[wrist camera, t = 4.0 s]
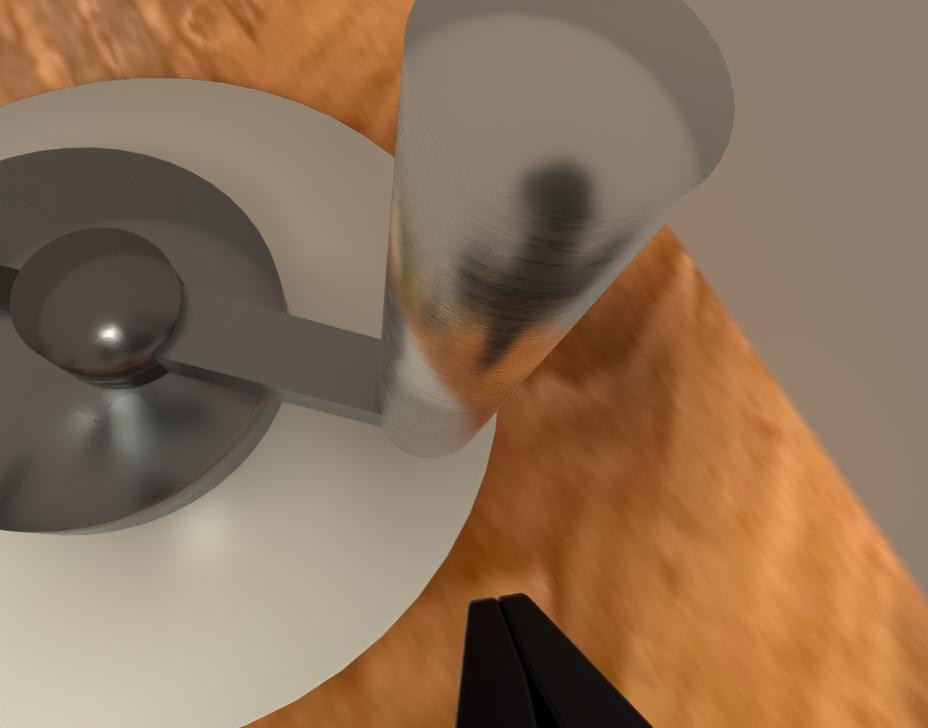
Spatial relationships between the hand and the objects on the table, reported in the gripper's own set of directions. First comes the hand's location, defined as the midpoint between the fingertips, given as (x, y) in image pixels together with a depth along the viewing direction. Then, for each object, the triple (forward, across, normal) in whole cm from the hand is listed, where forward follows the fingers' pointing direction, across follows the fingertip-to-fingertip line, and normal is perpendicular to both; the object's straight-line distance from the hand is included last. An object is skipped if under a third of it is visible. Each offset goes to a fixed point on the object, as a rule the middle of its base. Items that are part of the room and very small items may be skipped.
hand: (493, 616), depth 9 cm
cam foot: (+9, +7, 0) cm, 11 cm away
